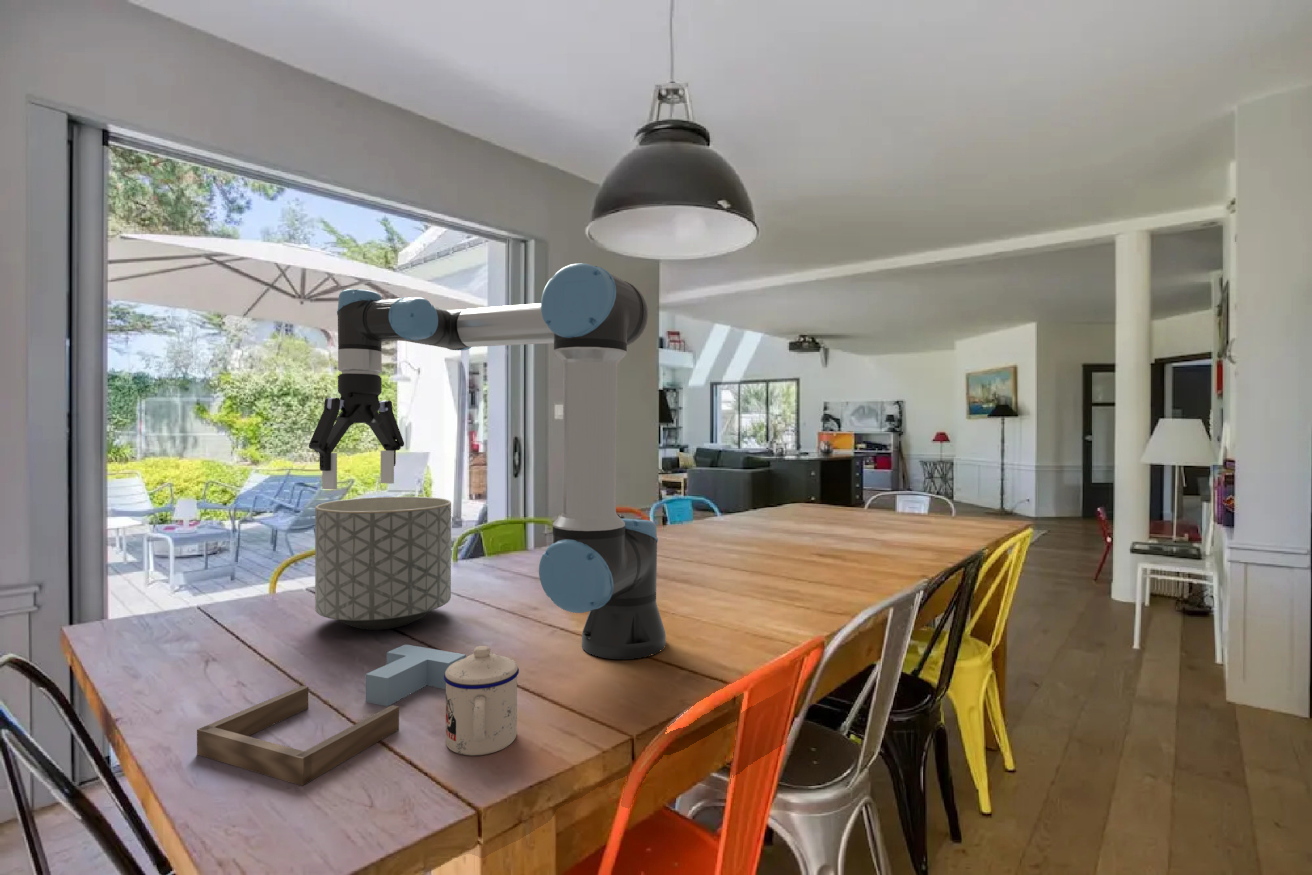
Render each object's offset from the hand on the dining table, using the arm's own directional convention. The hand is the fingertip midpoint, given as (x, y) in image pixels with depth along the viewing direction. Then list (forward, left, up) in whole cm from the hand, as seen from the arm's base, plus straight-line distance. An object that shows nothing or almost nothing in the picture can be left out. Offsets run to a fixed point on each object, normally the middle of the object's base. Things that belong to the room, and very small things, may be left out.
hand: (359, 486), depth 122 cm
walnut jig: (-27, +35, -28) cm, 52 cm away
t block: (-27, +17, -28) cm, 42 cm away
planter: (+1, -7, -28) cm, 29 cm away
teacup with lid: (-48, +27, -28) cm, 62 cm away
